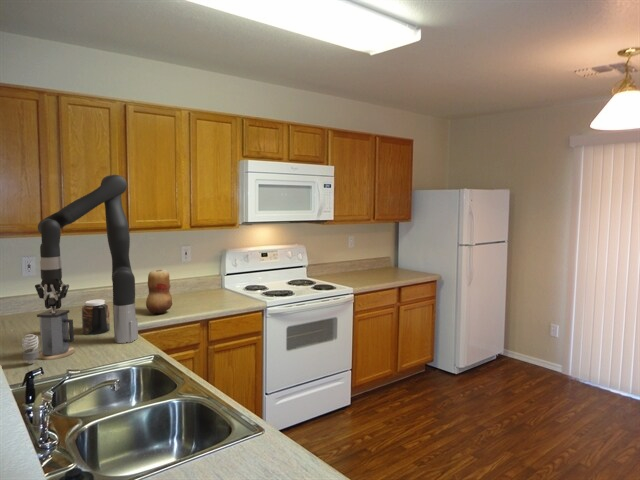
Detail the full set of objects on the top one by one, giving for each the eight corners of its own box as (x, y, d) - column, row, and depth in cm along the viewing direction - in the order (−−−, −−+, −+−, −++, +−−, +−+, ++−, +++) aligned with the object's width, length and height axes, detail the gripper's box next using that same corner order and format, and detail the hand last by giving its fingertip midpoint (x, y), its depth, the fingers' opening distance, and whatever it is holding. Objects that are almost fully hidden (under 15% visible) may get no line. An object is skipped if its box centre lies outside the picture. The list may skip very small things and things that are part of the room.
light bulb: (19, 365, 178) (17, 335, 177) (33, 360, 183) (31, 331, 182) (29, 367, 176) (28, 337, 175) (43, 362, 181) (41, 333, 180)
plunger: (68, 342, 194) (65, 296, 192) (57, 348, 187) (55, 300, 185) (52, 342, 194) (50, 296, 192) (41, 347, 188) (39, 299, 186)
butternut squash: (149, 317, 248) (148, 272, 246) (144, 312, 259) (142, 268, 257) (175, 314, 256) (174, 270, 253) (169, 309, 267) (167, 266, 264)
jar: (95, 336, 215) (94, 305, 214) (77, 333, 219) (75, 302, 218) (115, 329, 226) (113, 299, 225) (96, 326, 230) (95, 297, 229)
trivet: (81, 348, 197) (81, 347, 197) (60, 360, 184) (60, 358, 184) (50, 347, 199) (50, 346, 198) (27, 359, 185) (27, 357, 185)
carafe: (80, 348, 195) (78, 309, 194) (66, 356, 186) (64, 315, 184) (52, 347, 196) (50, 309, 194) (36, 355, 187) (34, 315, 185)
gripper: (73, 266, 191) (75, 306, 192) (41, 265, 192) (43, 305, 193) (61, 269, 183) (63, 311, 185) (28, 268, 184) (30, 310, 186)
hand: (53, 308), depth 189 cm, fingers closed on plunger, 3 cm apart
